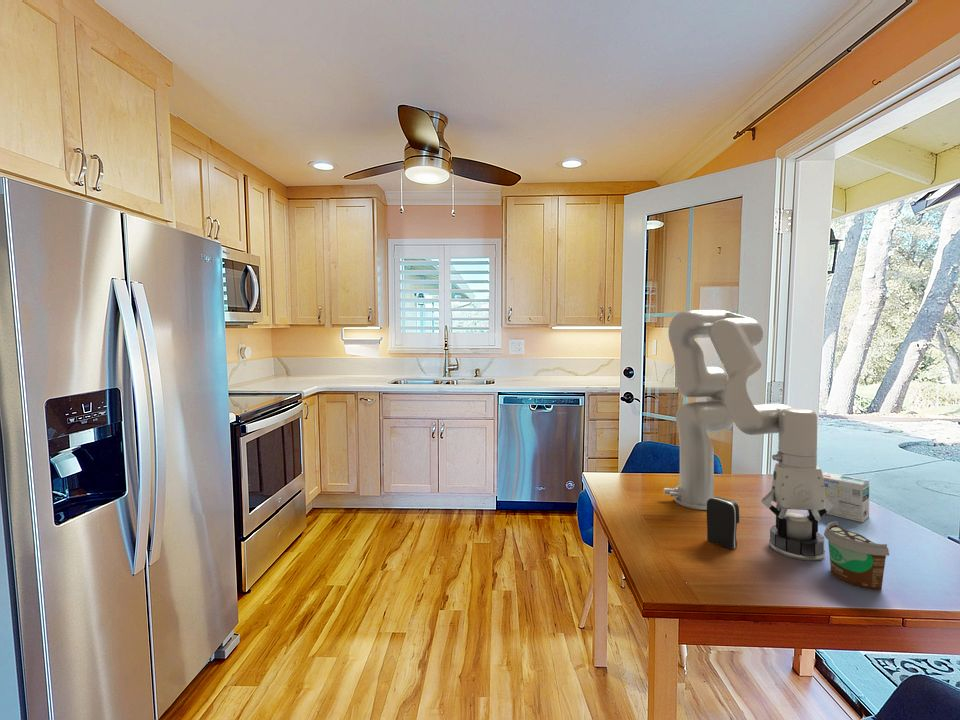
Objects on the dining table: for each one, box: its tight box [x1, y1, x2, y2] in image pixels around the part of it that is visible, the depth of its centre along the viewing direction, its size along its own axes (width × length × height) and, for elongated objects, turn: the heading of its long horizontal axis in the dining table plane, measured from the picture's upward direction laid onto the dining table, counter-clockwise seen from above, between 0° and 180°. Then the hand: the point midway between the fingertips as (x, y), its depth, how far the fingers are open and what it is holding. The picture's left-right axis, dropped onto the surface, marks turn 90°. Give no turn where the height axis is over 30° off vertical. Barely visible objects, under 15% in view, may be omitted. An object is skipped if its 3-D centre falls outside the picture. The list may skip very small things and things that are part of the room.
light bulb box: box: [822, 471, 870, 523], centre depth 128 cm, size 11×7×11 cm, turn 37°
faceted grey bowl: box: [769, 524, 826, 562], centre depth 108 cm, size 11×11×4 cm
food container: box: [823, 521, 890, 591], centre depth 95 cm, size 12×6×10 cm, turn 5°
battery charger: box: [706, 496, 740, 550], centre depth 112 cm, size 7×4×11 cm, turn 33°
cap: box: [784, 512, 812, 541], centre depth 108 cm, size 6×6×5 cm
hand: (796, 533), depth 108 cm, fingers closed on cap, 5 cm apart
